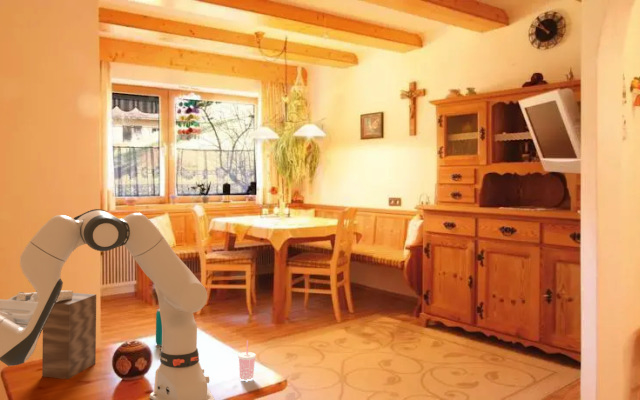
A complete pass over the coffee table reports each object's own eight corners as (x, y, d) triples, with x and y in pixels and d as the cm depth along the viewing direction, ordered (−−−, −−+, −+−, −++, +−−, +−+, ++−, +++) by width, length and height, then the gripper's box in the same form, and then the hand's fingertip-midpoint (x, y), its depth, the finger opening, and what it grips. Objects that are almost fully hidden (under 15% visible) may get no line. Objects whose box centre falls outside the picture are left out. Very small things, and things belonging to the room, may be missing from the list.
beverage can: (172, 343, 224) (172, 308, 224) (166, 347, 219) (167, 311, 218) (158, 342, 225) (159, 307, 224) (153, 346, 219) (154, 310, 219)
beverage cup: (252, 375, 191) (253, 337, 190) (257, 381, 185) (258, 342, 185) (235, 377, 188) (236, 339, 187) (240, 384, 183) (241, 344, 182)
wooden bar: (24, 304, 165) (25, 294, 165) (16, 303, 165) (17, 293, 166) (72, 299, 188) (73, 290, 189) (64, 298, 189) (65, 290, 189)
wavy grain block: (68, 379, 182) (69, 304, 181) (42, 376, 184) (42, 302, 183) (95, 363, 198) (96, 294, 197) (71, 360, 200) (71, 292, 199)
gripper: (27, 320, 154) (55, 288, 165) (-34, 315, 157) (-3, 284, 169) (35, 335, 157) (61, 303, 169) (-26, 330, 161) (4, 299, 172)
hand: (28, 294), depth 169 cm, fingers closed on wooden bar, 3 cm apart
